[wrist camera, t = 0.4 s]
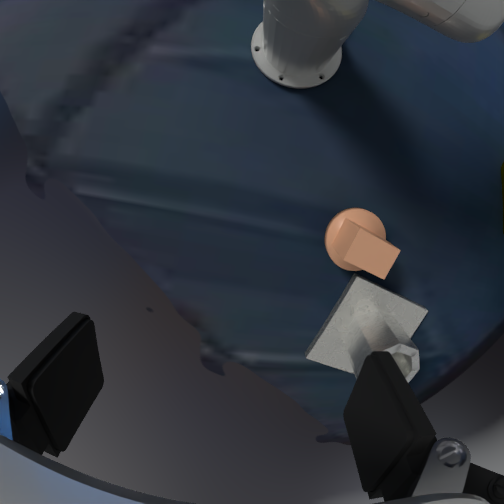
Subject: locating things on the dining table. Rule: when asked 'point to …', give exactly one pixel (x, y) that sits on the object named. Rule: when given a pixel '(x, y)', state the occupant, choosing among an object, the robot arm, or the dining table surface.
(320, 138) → the dining table surface
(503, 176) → the element tile
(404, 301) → the hex socket plate
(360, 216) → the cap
